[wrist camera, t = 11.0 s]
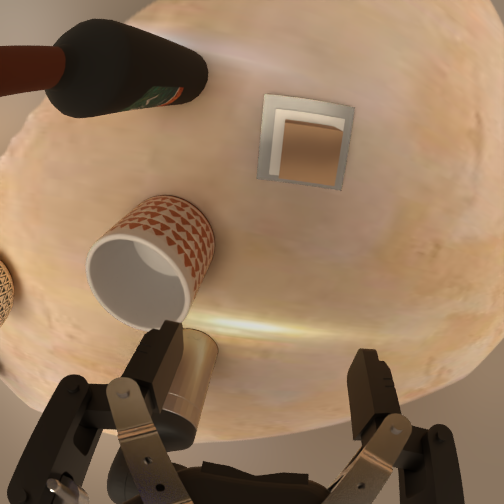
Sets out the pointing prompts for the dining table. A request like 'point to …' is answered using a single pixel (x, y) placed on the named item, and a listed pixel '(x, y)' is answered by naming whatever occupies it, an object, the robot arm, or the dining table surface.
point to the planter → (5, 293)
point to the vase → (151, 263)
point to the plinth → (301, 106)
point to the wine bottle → (104, 70)
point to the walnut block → (310, 152)
